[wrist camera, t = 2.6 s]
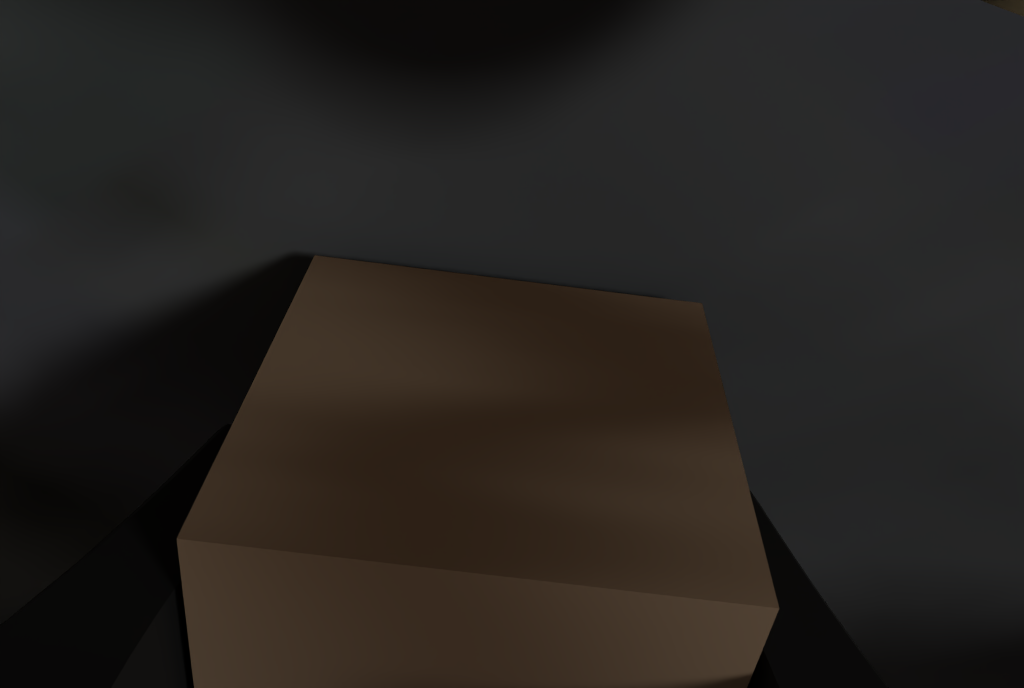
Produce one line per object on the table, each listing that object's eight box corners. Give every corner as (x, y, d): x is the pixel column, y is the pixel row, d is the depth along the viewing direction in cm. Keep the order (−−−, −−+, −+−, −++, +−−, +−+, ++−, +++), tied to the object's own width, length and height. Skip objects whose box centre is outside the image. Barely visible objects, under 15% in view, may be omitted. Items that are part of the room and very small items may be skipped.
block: (701, 303, 11) (778, 608, 7) (630, 573, 13) (657, 906, 9) (314, 255, 11) (175, 538, 7) (315, 536, 13) (214, 859, 9)
